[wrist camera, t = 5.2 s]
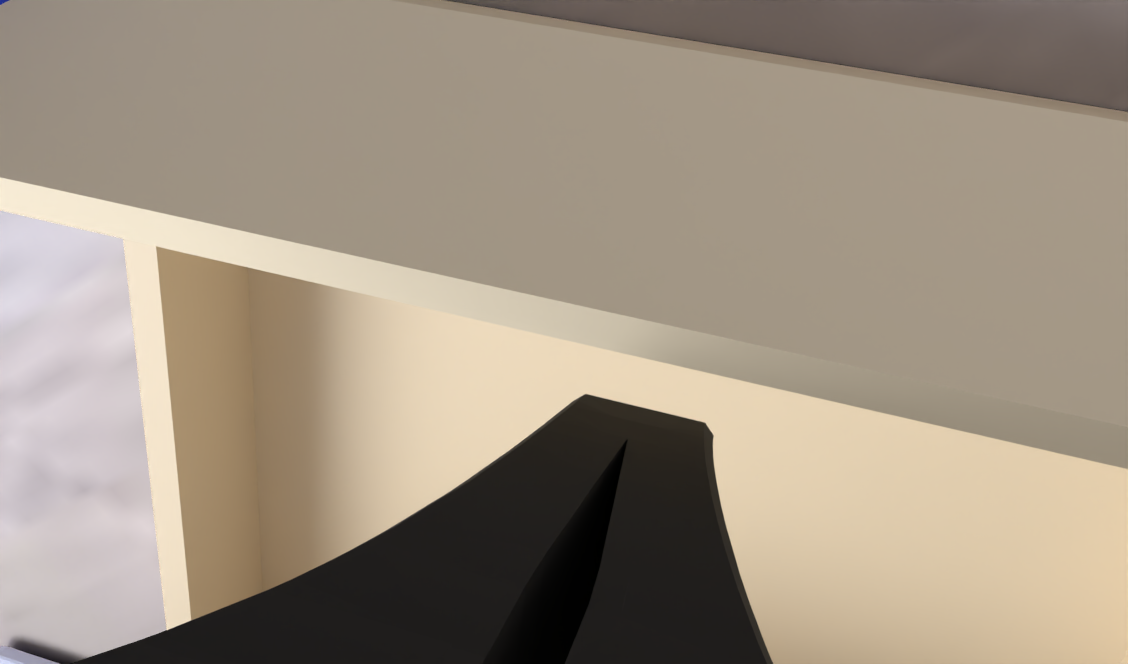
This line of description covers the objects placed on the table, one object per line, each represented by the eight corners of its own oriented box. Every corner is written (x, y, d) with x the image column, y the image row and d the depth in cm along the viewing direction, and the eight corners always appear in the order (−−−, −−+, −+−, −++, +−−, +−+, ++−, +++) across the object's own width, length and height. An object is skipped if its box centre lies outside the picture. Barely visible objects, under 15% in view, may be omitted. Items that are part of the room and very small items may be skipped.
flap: (111, -18, 13) (102, -48, 12) (1551, 229, 10) (1582, 197, 9) (-215, 161, 9) (-236, 125, 9) (1943, 656, 6) (2010, 623, 6)
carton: (1049, 829, 19) (1084, 983, 16) (252, 590, 22) (172, 684, 19) (1423, 160, 12) (1585, 233, 10) (219, -37, 15) (93, -23, 13)
